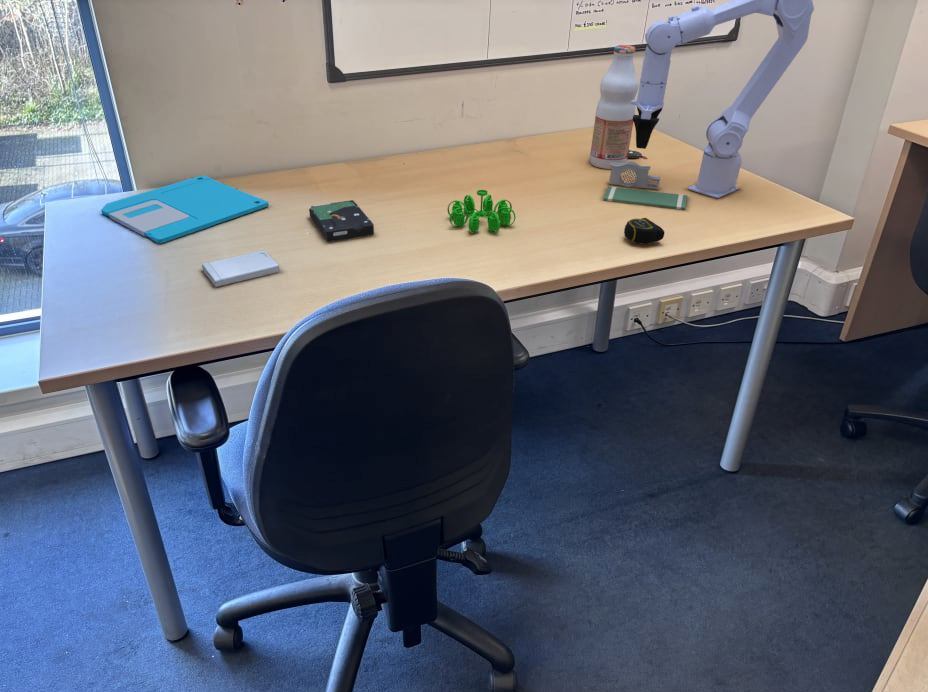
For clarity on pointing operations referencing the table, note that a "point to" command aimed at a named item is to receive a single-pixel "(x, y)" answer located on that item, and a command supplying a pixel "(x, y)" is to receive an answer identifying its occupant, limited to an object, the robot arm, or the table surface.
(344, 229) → the disk drive
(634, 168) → the lattice window wall
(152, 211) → the floppy disk
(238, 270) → the hard drive
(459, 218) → the chandelier
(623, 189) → the towel
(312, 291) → the table surface
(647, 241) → the tape measure
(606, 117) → the fruit juice
